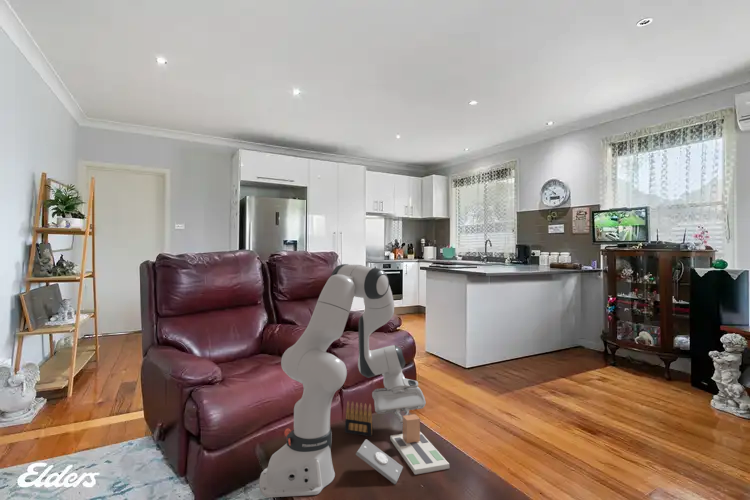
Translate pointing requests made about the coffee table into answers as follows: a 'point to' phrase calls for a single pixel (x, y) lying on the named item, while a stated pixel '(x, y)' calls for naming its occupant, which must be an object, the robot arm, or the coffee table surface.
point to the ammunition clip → (358, 420)
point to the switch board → (420, 454)
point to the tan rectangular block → (411, 428)
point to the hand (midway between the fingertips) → (404, 421)
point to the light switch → (380, 461)
